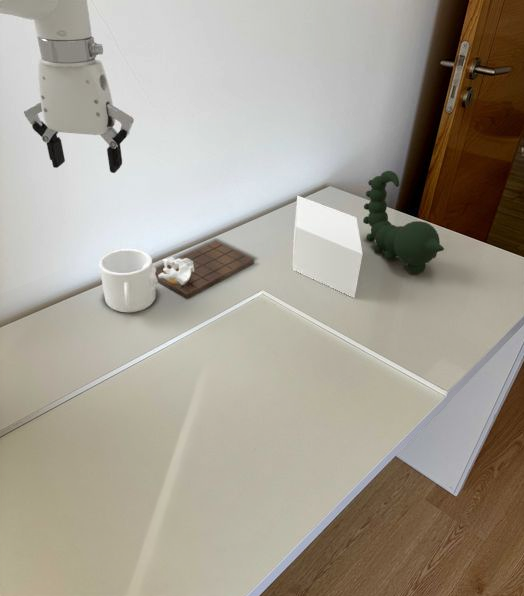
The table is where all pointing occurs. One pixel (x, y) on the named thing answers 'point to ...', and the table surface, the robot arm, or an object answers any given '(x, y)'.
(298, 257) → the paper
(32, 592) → the table surface
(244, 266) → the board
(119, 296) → the mug
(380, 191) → the toy figurine
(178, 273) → the crumpled tissue wad
